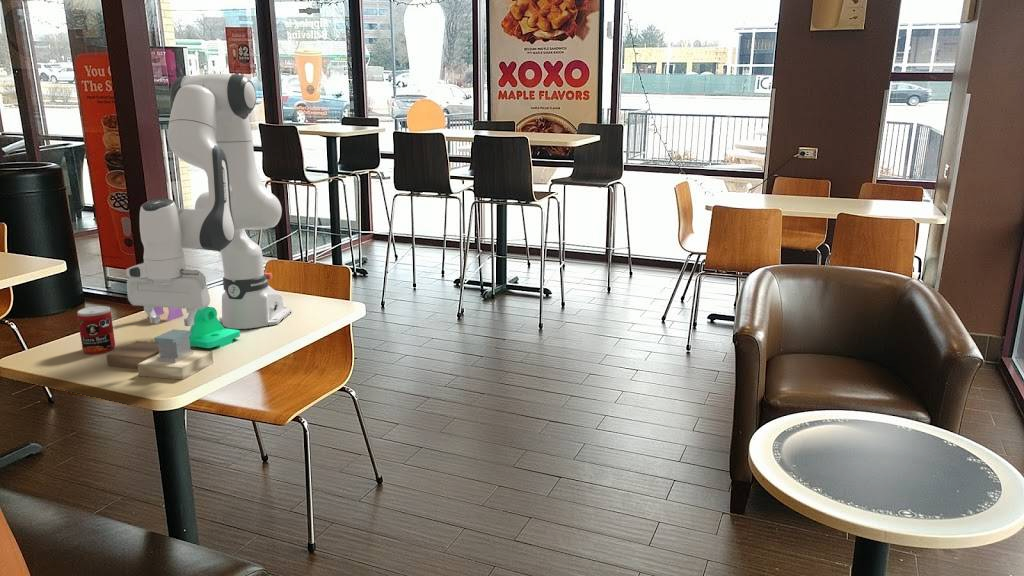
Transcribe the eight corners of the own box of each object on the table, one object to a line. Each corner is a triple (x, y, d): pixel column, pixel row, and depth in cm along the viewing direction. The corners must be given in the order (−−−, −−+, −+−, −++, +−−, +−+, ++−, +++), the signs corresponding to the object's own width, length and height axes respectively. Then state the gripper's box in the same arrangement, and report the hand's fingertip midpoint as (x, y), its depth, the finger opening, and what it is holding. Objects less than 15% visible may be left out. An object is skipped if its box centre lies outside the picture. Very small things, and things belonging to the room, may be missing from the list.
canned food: (79, 355, 199) (73, 314, 196) (87, 346, 206) (81, 307, 204) (112, 353, 201) (106, 312, 198) (118, 344, 208) (113, 304, 206)
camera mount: (210, 352, 202) (206, 314, 199) (187, 349, 204) (183, 311, 202) (242, 339, 212) (238, 303, 210) (220, 336, 215) (217, 300, 213)
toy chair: (165, 322, 228) (159, 273, 225) (144, 319, 232) (137, 270, 228) (187, 315, 236) (182, 267, 232) (166, 312, 239) (160, 265, 235)
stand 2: (171, 359, 196) (170, 348, 195) (213, 363, 193) (212, 351, 192) (139, 375, 184) (137, 364, 183) (183, 379, 181) (181, 367, 181)
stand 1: (138, 352, 202) (136, 341, 201) (175, 354, 199) (173, 343, 198) (107, 365, 191) (106, 354, 190) (146, 369, 189) (144, 357, 188)
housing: (157, 361, 185) (154, 337, 184) (175, 352, 192) (173, 329, 190) (175, 363, 184) (172, 339, 183) (193, 353, 191) (191, 330, 189)
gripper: (212, 267, 183) (218, 323, 187) (137, 263, 188) (145, 318, 191) (195, 273, 177) (202, 330, 181) (119, 269, 182) (127, 325, 185)
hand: (172, 324), depth 186 cm, fingers open, 8 cm apart
